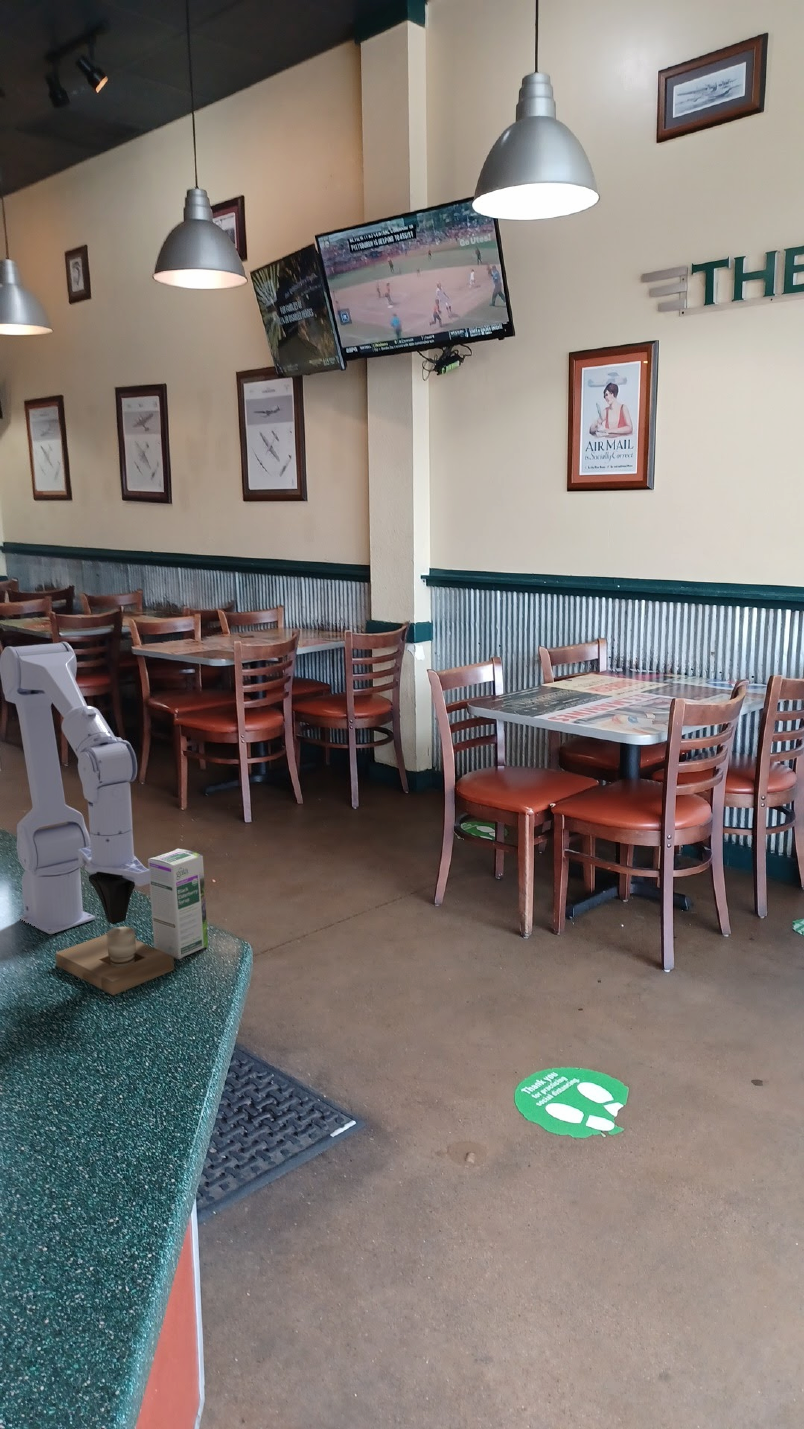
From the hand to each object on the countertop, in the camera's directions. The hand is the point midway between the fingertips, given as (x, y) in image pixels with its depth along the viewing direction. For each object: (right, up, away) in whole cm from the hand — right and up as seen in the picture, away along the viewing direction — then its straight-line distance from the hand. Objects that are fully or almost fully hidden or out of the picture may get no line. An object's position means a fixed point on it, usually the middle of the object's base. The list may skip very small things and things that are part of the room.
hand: (116, 921), depth 141 cm
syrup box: (+7, -6, +8) cm, 12 cm away
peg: (+1, -7, 0) cm, 7 cm away
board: (-1, -7, +1) cm, 7 cm away
